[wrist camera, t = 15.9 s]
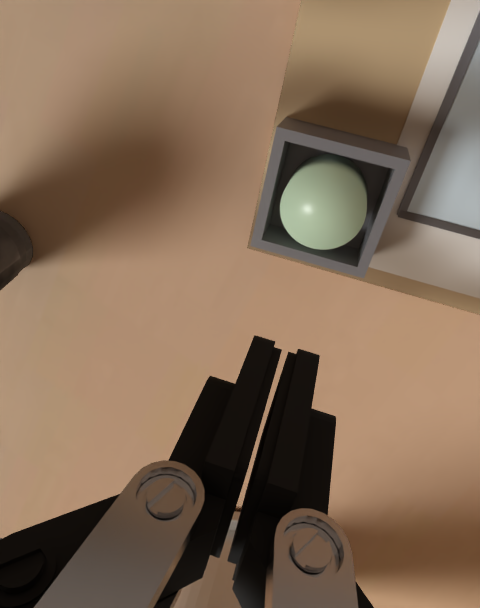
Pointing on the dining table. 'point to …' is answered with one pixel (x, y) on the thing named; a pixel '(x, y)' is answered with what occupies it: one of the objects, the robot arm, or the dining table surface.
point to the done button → (324, 202)
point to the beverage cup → (13, 249)
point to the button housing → (359, 149)
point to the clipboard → (401, 127)
